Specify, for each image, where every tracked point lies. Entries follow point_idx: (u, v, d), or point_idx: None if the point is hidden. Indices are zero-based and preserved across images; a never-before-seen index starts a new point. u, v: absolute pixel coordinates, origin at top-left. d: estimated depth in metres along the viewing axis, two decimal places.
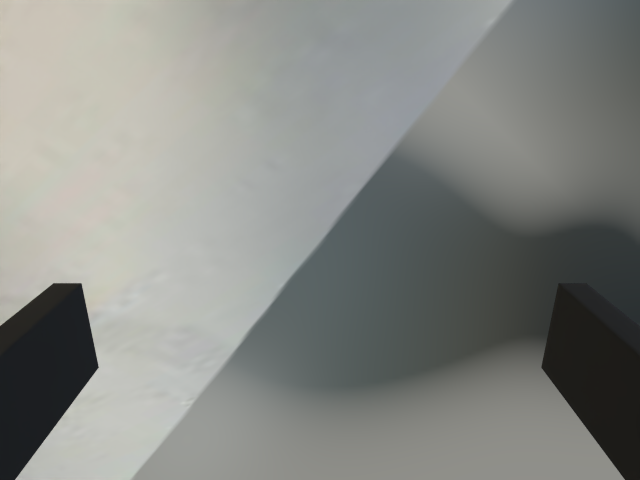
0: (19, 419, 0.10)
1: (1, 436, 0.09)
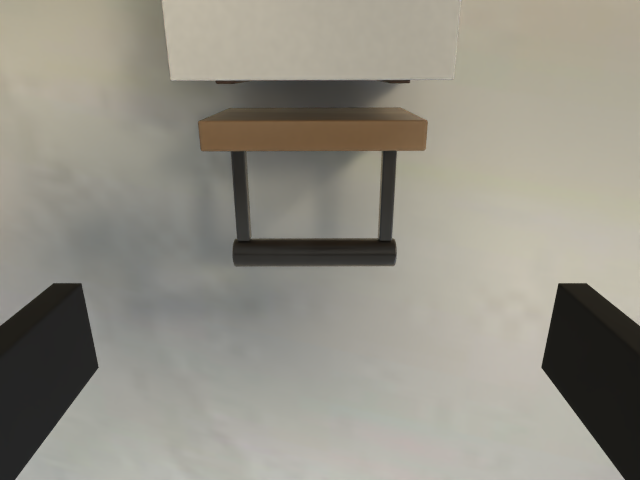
0: (19, 419, 0.10)
1: (1, 436, 0.09)
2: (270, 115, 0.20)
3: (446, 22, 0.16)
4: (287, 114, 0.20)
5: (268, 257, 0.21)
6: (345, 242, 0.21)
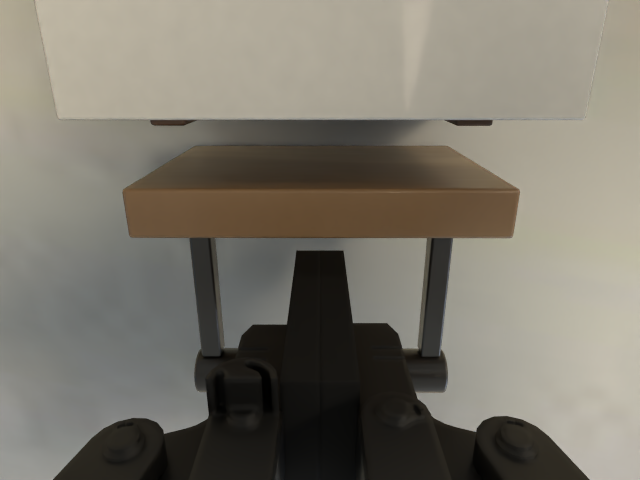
0: None
1: None
2: (251, 169, 0.12)
3: (581, 13, 0.08)
4: (279, 166, 0.13)
5: None
6: None
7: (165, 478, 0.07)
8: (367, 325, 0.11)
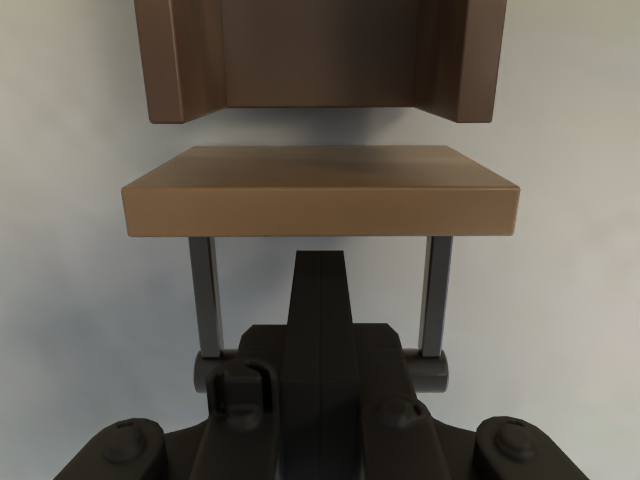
0: None
1: None
2: (250, 168, 0.12)
3: None
4: (278, 165, 0.13)
5: None
6: None
7: (165, 478, 0.07)
8: (367, 325, 0.11)
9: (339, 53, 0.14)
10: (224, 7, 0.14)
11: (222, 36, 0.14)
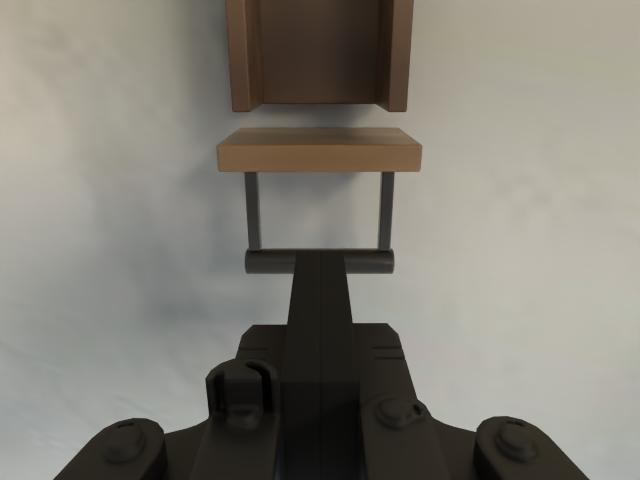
0: None
1: None
2: (280, 138, 0.22)
3: None
4: (295, 136, 0.22)
5: (277, 266, 0.23)
6: (347, 252, 0.23)
7: (165, 478, 0.07)
8: (366, 325, 0.11)
9: (331, 71, 0.24)
10: (263, 45, 0.23)
11: (262, 61, 0.23)
